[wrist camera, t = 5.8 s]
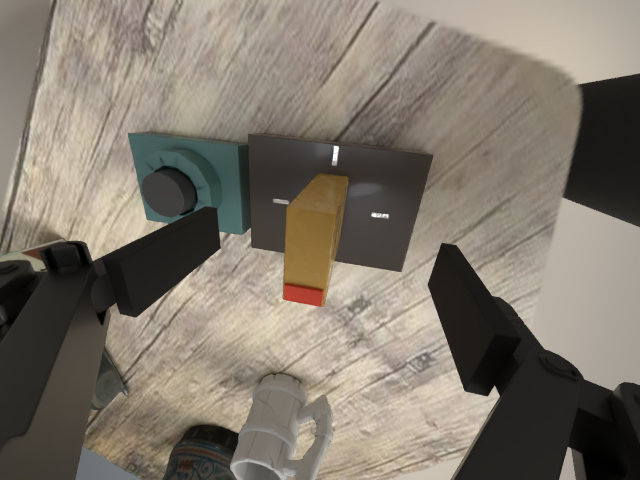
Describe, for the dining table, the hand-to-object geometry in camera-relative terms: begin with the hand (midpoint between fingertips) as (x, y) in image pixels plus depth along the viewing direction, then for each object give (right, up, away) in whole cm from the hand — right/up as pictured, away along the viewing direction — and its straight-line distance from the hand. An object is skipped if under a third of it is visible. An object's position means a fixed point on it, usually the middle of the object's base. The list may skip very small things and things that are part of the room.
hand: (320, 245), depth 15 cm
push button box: (-12, +6, +10) cm, 16 cm away
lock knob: (+1, +3, +6) cm, 7 cm away
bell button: (-12, +4, +7) cm, 15 cm away
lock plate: (+1, +4, +8) cm, 9 cm away
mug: (-3, -21, +21) cm, 30 cm away
